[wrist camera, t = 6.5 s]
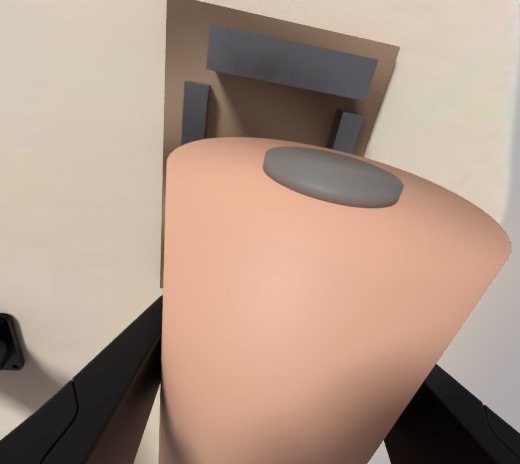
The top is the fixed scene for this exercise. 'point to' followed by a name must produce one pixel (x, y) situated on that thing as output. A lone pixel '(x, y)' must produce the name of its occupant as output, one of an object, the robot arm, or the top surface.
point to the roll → (306, 299)
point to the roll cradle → (267, 82)
